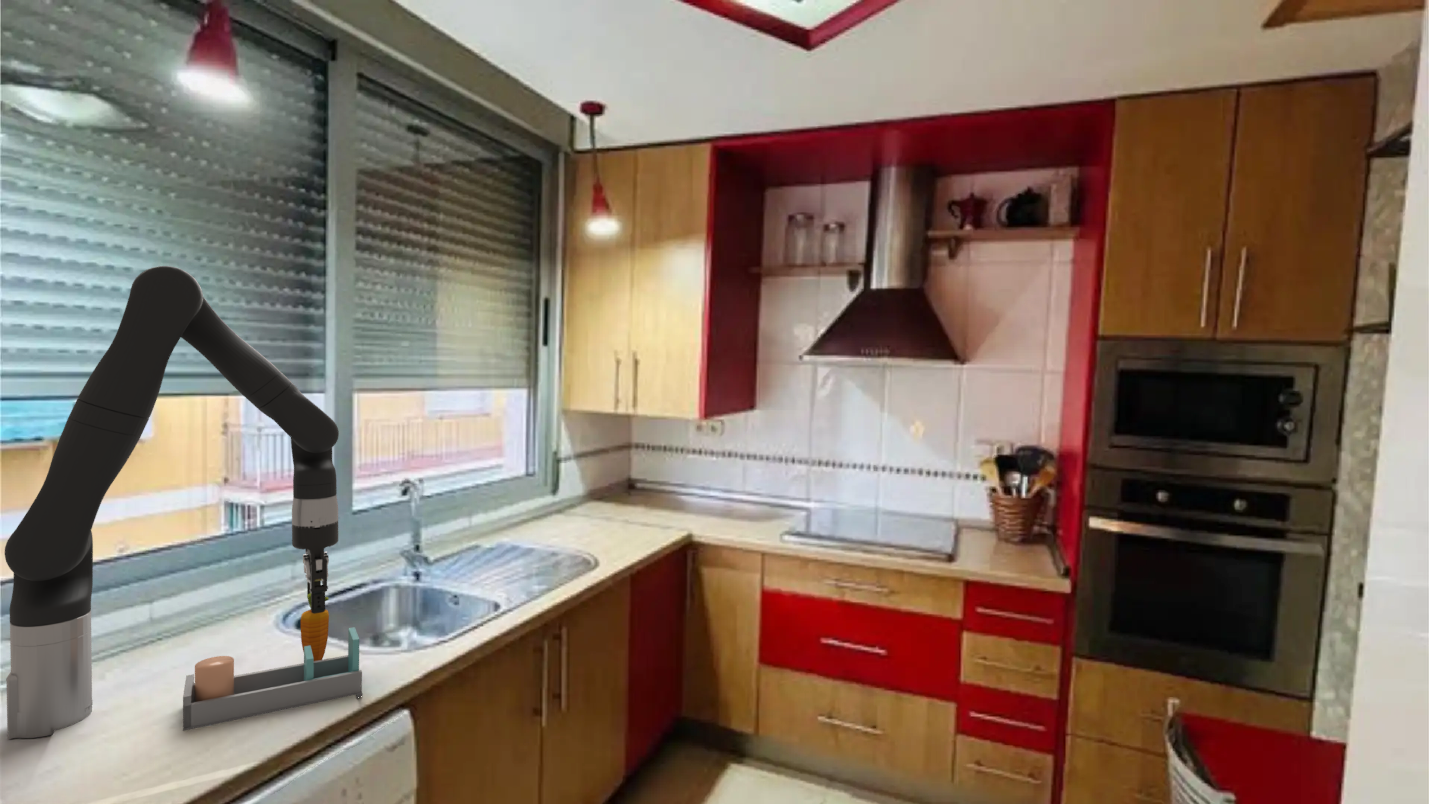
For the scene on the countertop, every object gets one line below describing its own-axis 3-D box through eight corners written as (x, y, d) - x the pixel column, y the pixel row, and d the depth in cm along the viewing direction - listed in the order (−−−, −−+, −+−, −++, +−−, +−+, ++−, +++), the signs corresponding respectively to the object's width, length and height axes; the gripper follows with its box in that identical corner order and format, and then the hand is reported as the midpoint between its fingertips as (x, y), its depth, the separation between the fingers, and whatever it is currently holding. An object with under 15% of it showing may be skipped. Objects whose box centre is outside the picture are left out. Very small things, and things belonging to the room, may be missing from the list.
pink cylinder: (194, 721, 111) (193, 672, 110) (195, 707, 115) (195, 660, 115) (233, 713, 114) (233, 665, 113) (234, 699, 118) (234, 653, 118)
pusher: (306, 699, 119) (306, 648, 119) (303, 684, 124) (304, 635, 124) (358, 688, 124) (359, 639, 123) (354, 674, 129) (354, 627, 128)
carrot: (323, 661, 136) (323, 585, 135) (334, 669, 132) (334, 591, 132) (294, 669, 132) (295, 591, 131) (305, 678, 129) (306, 597, 128)
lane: (182, 735, 108) (182, 699, 108) (186, 707, 116) (186, 673, 116) (362, 697, 122) (362, 664, 122) (354, 675, 130) (354, 644, 130)
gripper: (289, 514, 134) (290, 597, 135) (294, 530, 122) (295, 621, 123) (333, 510, 138) (334, 590, 139) (342, 525, 127) (343, 613, 128)
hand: (316, 605), depth 131 cm, fingers open, 8 cm apart
